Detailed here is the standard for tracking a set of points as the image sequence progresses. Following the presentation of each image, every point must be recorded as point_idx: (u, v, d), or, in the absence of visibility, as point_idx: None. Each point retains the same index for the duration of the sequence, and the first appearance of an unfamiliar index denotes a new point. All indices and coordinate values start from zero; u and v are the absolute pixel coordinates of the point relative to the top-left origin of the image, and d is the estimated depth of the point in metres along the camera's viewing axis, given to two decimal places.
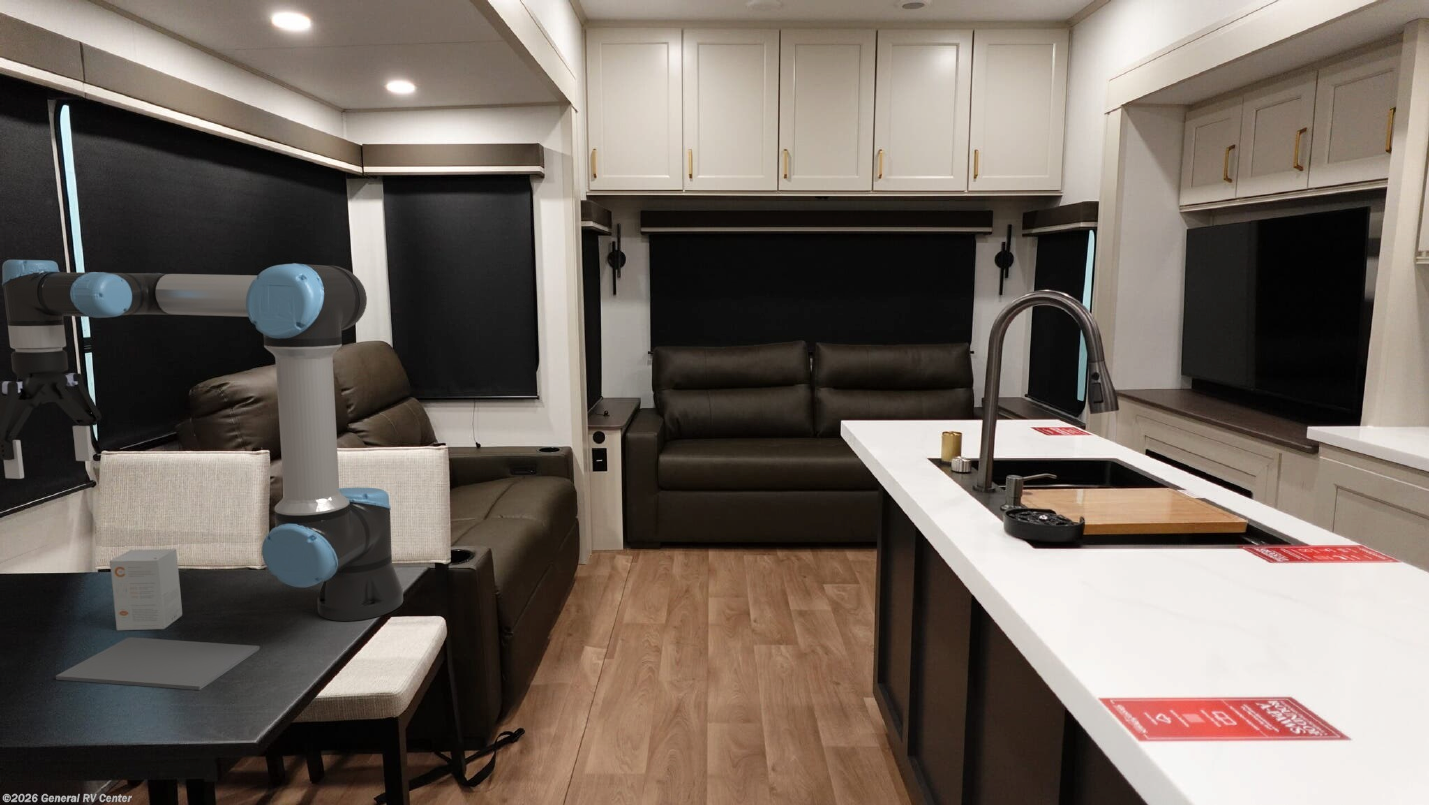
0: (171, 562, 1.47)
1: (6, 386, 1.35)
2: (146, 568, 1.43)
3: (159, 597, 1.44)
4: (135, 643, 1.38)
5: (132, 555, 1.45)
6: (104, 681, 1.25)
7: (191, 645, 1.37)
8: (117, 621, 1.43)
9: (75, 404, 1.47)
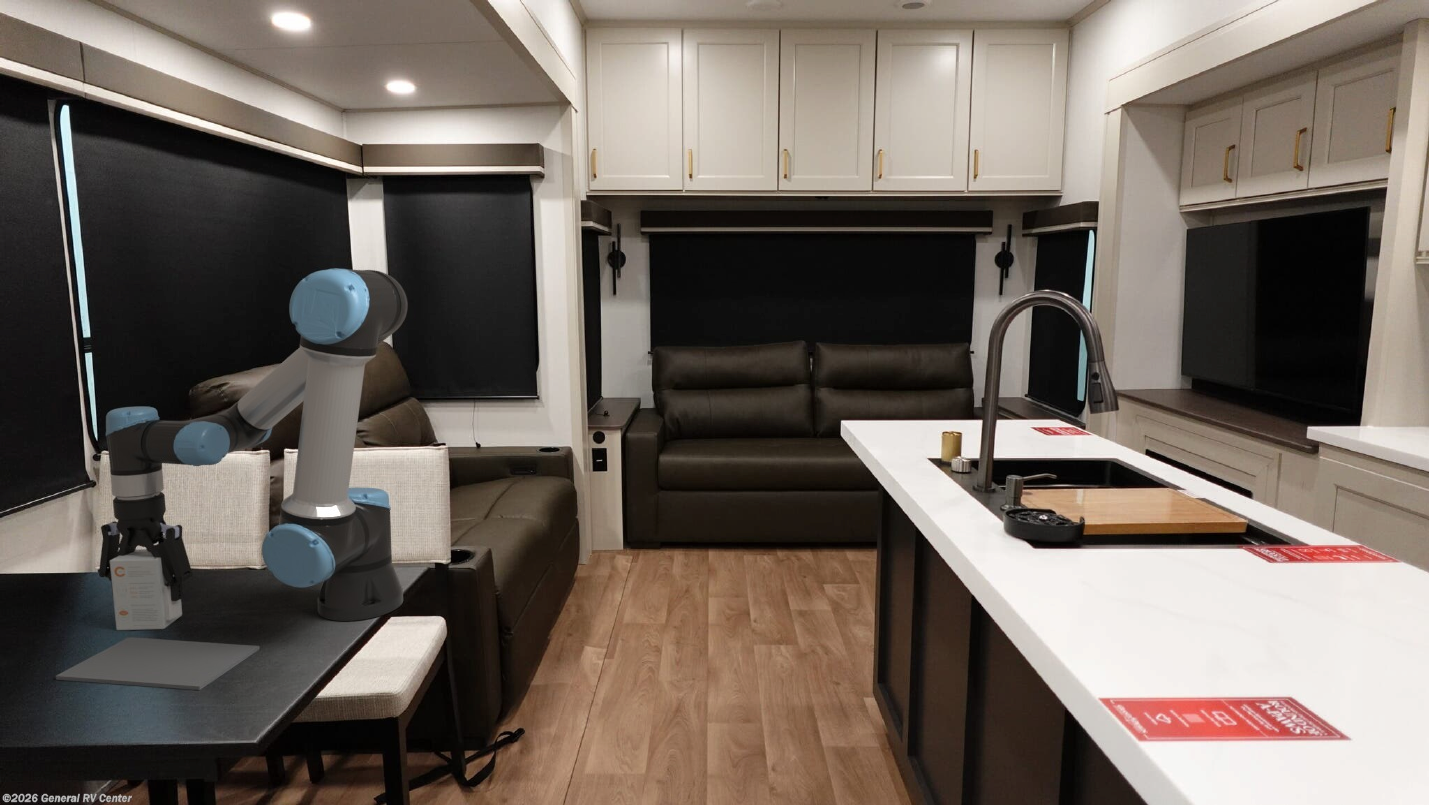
0: None
1: None
2: (145, 568, 1.43)
3: (159, 597, 1.44)
4: (135, 643, 1.38)
5: (132, 555, 1.45)
6: (104, 681, 1.25)
7: (191, 645, 1.37)
8: (117, 621, 1.43)
9: None
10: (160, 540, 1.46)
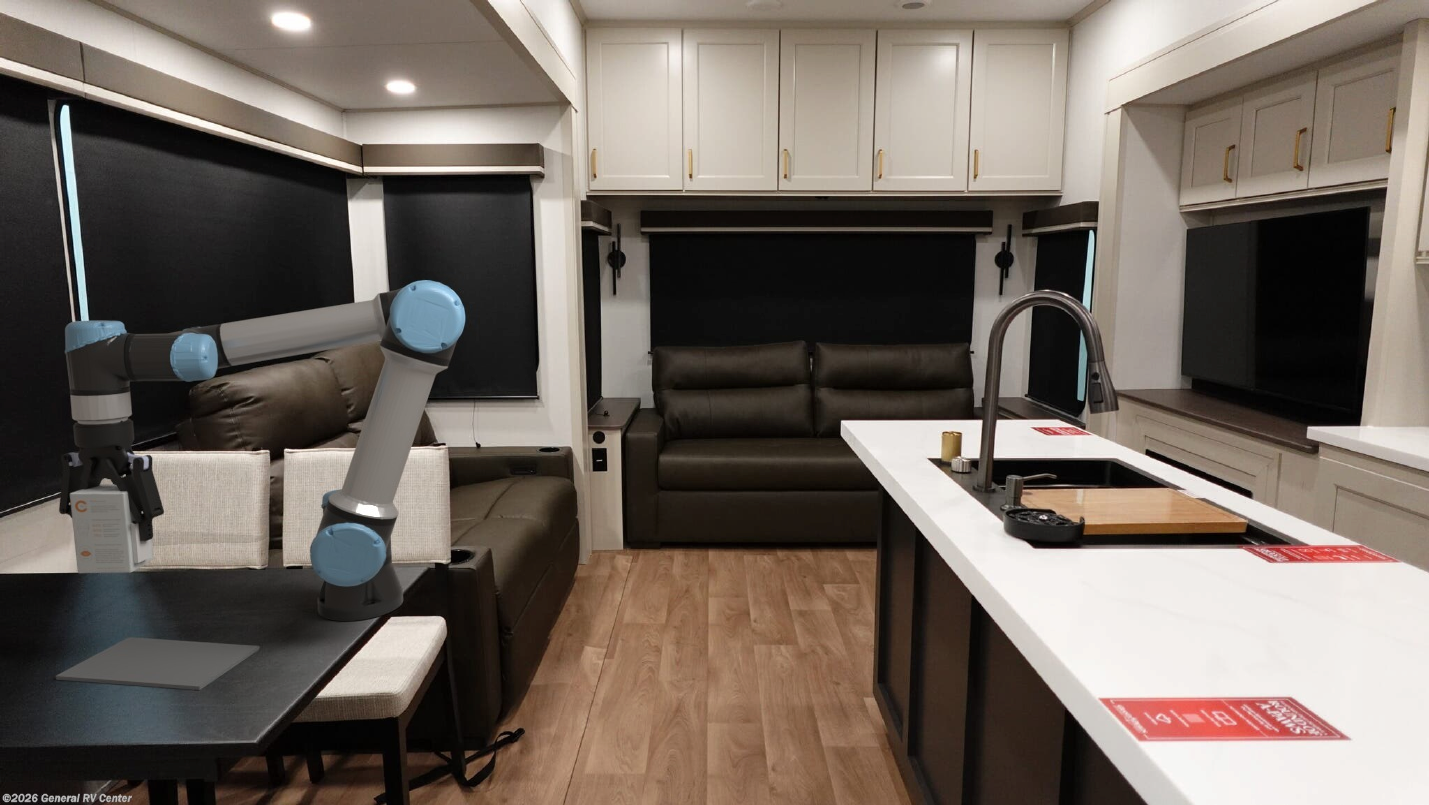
0: None
1: None
2: (110, 503, 1.26)
3: (126, 535, 1.27)
4: (135, 643, 1.38)
5: (96, 488, 1.28)
6: (104, 681, 1.25)
7: (191, 645, 1.37)
8: (78, 562, 1.27)
9: None
10: (128, 473, 1.29)
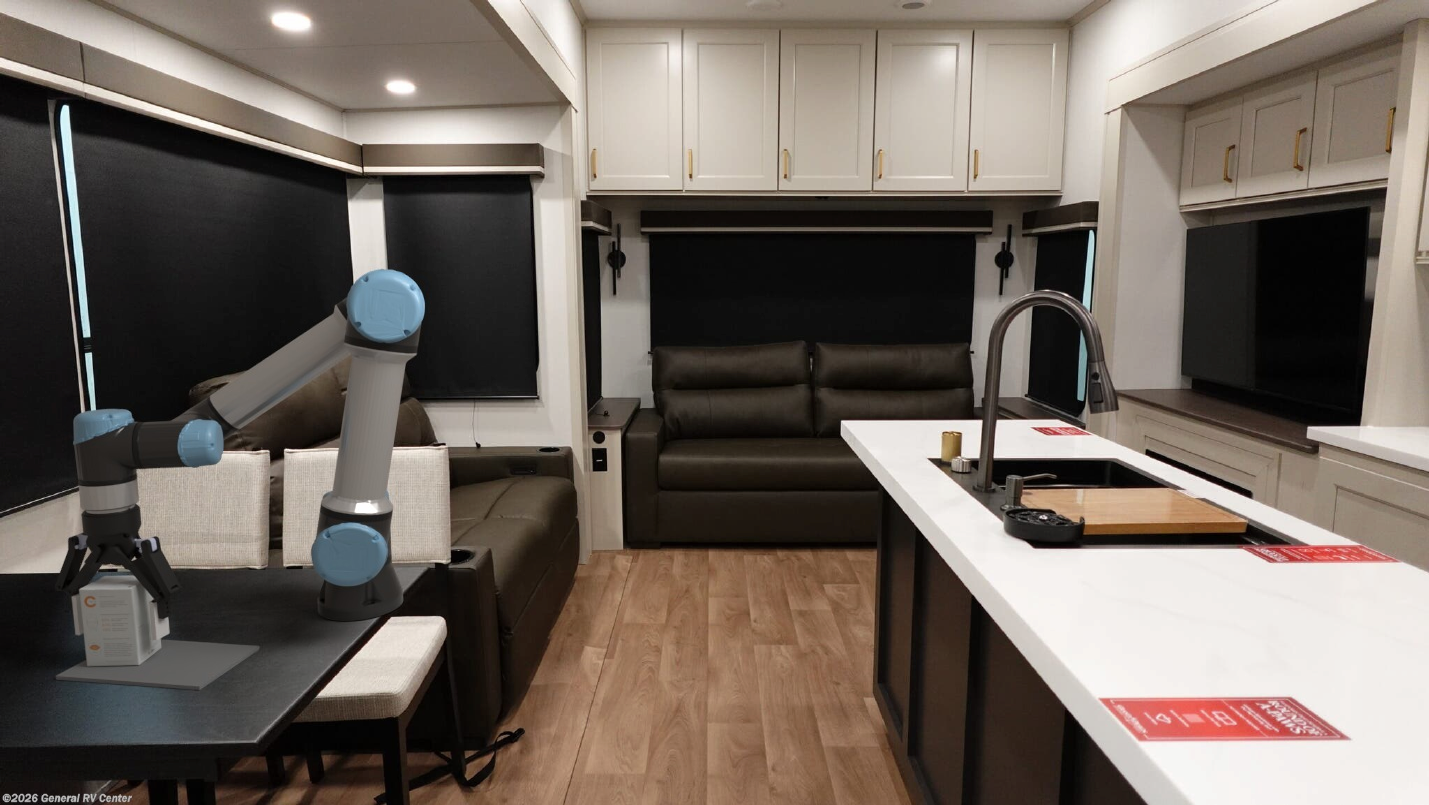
0: None
1: None
2: (119, 598, 1.28)
3: (134, 629, 1.29)
4: None
5: (105, 582, 1.30)
6: (104, 681, 1.25)
7: (191, 645, 1.37)
8: (87, 656, 1.29)
9: (138, 573, 1.29)
10: (138, 556, 1.31)
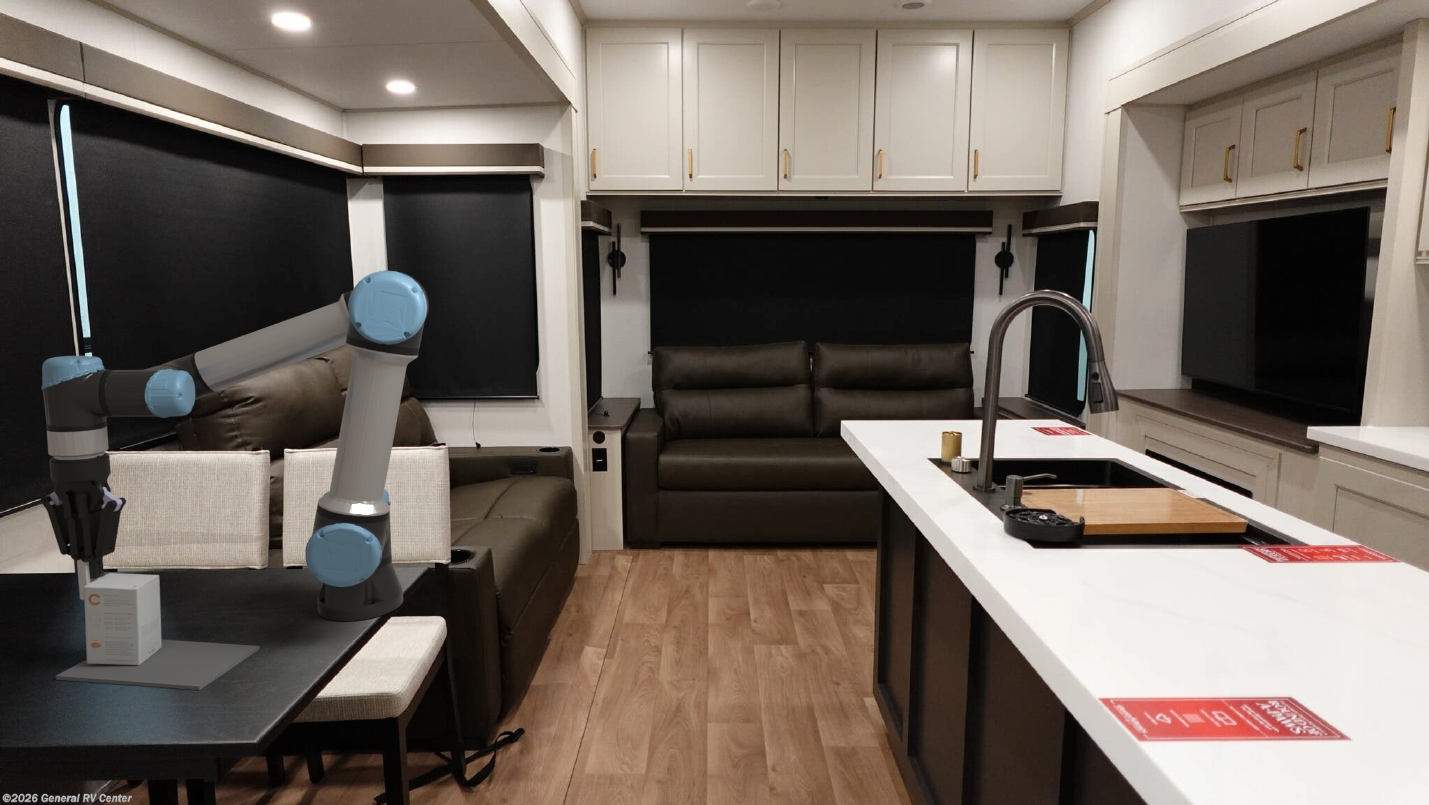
0: (152, 590, 1.32)
1: None
2: (123, 597, 1.28)
3: (136, 629, 1.29)
4: None
5: (110, 580, 1.30)
6: (104, 681, 1.25)
7: (191, 645, 1.37)
8: (88, 653, 1.29)
9: (87, 529, 1.29)
10: None
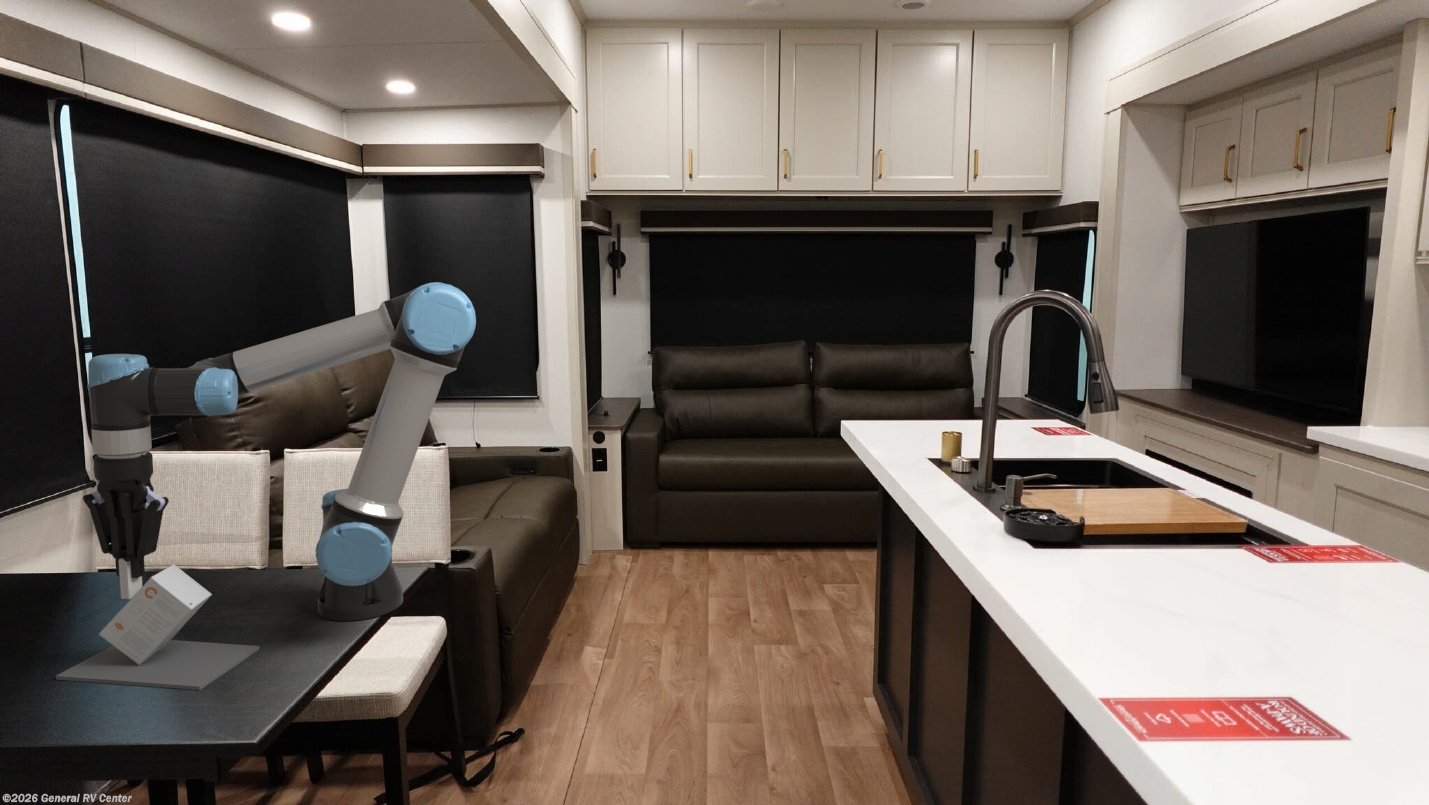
0: (198, 607, 1.33)
1: None
2: (175, 608, 1.29)
3: (163, 638, 1.29)
4: None
5: (173, 580, 1.31)
6: (104, 681, 1.25)
7: (191, 645, 1.37)
8: (107, 628, 1.28)
9: (130, 528, 1.28)
10: None
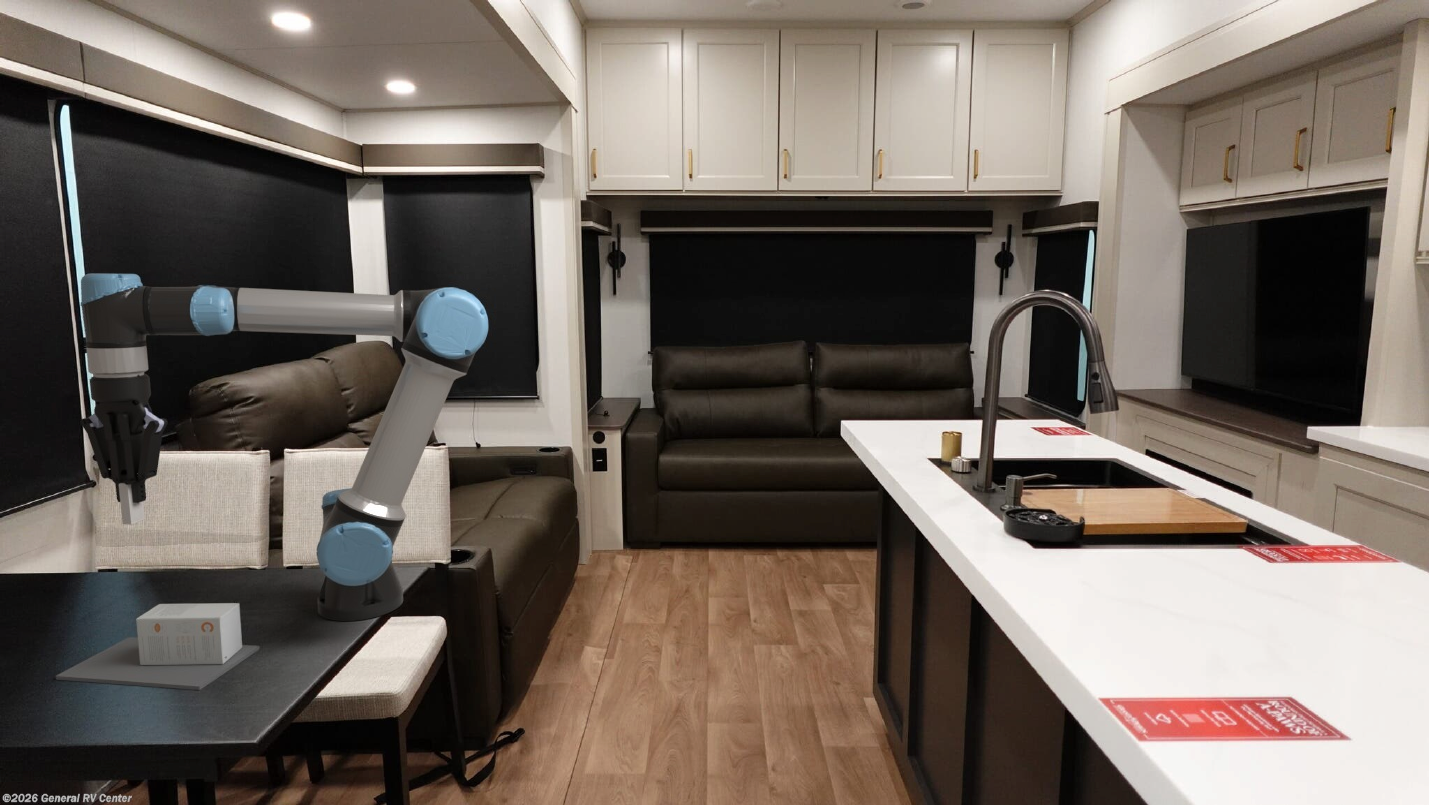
0: None
1: None
2: (212, 653, 1.30)
3: (179, 664, 1.30)
4: (135, 643, 1.38)
5: (230, 624, 1.33)
6: (104, 681, 1.25)
7: None
8: (147, 620, 1.29)
9: (129, 450, 1.26)
10: None
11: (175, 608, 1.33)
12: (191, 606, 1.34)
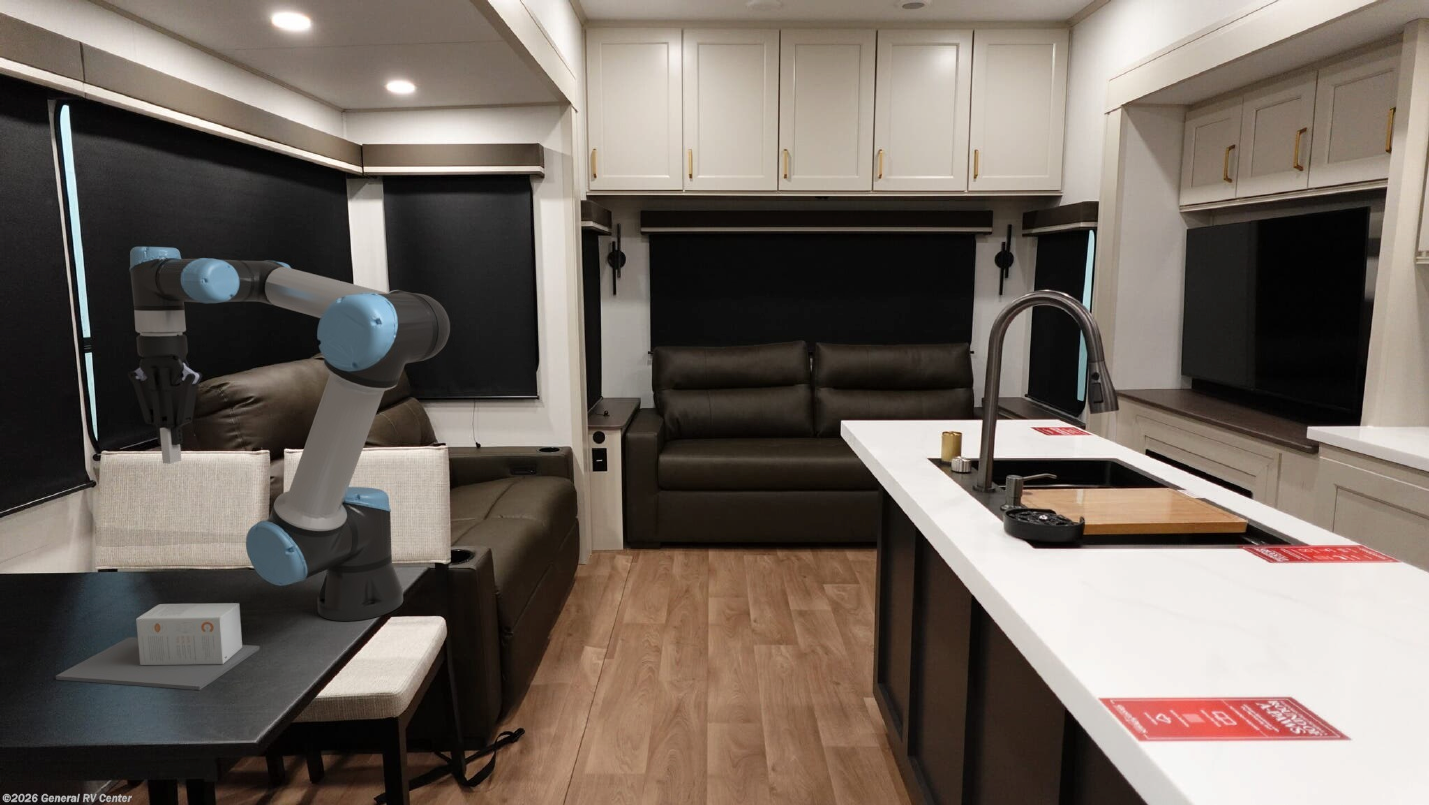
0: None
1: None
2: (212, 653, 1.30)
3: (179, 664, 1.30)
4: (135, 643, 1.38)
5: (230, 624, 1.33)
6: (104, 681, 1.25)
7: None
8: (147, 620, 1.29)
9: (169, 399, 1.47)
10: None
11: (175, 608, 1.33)
12: (191, 606, 1.34)
